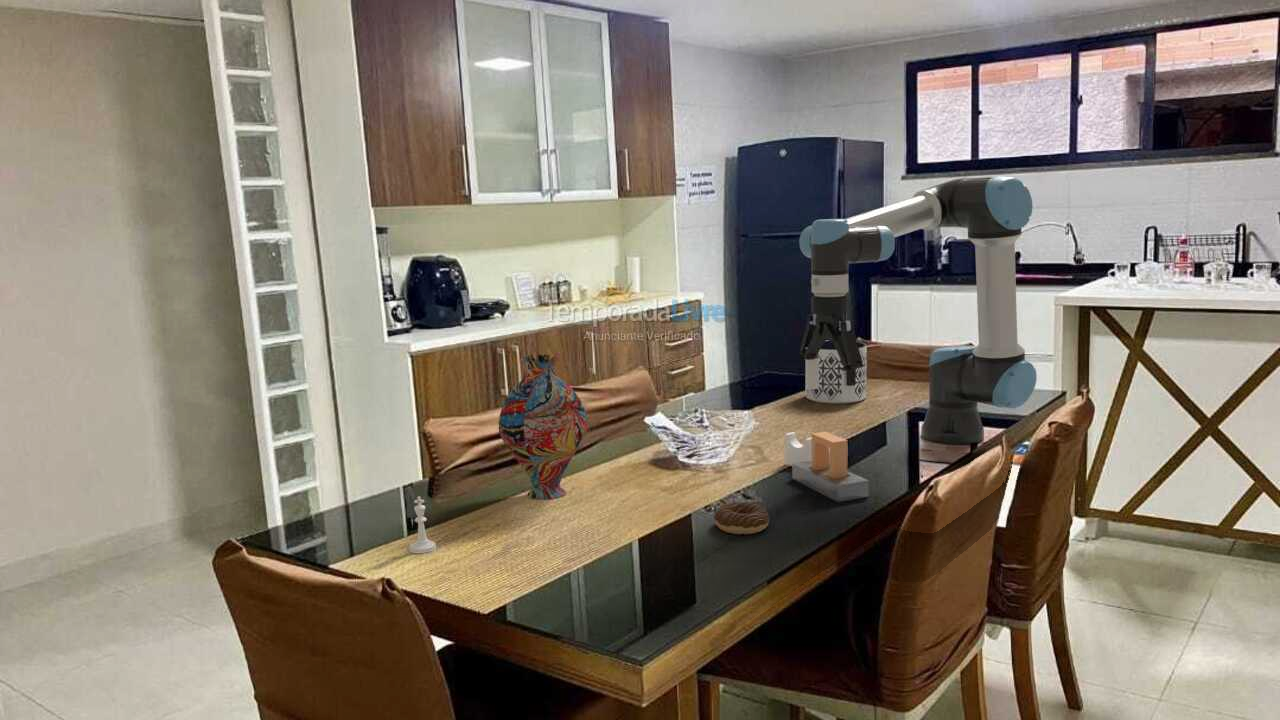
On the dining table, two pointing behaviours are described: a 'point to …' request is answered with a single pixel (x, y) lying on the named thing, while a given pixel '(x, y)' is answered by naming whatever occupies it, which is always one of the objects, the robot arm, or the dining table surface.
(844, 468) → the clip
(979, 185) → the robot arm
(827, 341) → the planter
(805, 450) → the bracket
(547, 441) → the vase
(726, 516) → the donut
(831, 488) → the grey slotted block
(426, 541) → the chess piece
